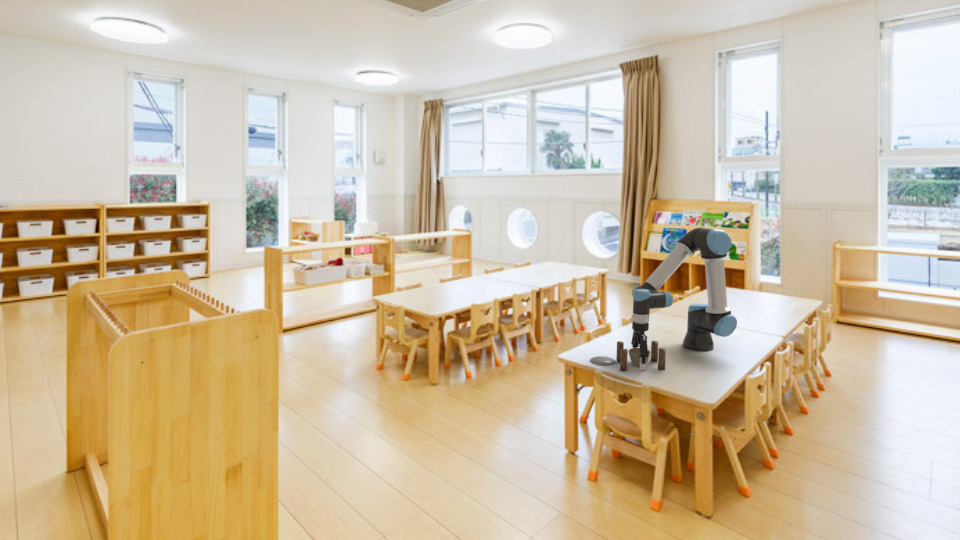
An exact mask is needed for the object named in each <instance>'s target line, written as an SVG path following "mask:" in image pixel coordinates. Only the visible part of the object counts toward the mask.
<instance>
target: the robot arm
mask: <svg viewBox="0 0 960 540" xmlns="http://www.w3.org/2000/svg"><path fill="white" fill-rule="evenodd" d="M731 248H732V238H731V236H730V235H729V233H727V231H725V230H722V229H720V228H710V227H709V228H707V227H700V226H699V227H696V228H693V229H691V230H689V231H687V232H686V233H685V234H684V235H683V236H682V237H680V239H679V240H678V241H677V242H676V243H675V247H674V248H673V250H671V252H670V253H669V254H668V255H667V256H666V257H665V258H664V260H662V262H661V263H660V264H659V265H658V267H656V268H655V270H654V271H653V272H652V273H651V274H650V275H649V277H648V278H646V279H645V280H644V282H643V283H642V284H640V285H636V286H634V287H633V289H632V292H631V294H632V295H631V296H632V314H631V317H632V323H631V328H632V330H633V332H632V338H631V341H630V344H631V347H632V348H640V353H641V355H640V356H639V357H640V367H638V368H639V369H638V370H640V371H646V370H647V369H646V367H647V363H646V357H648V350H649V349H648V336H647V335H646V333H645V332H647V331H649V330H650V329H649V328H650V326H649V325H650V323H649V322H650V312H651V311H650V310H651V309H665V308H669V307H671V306H672V305H673V303H674V297H673V295H672V293H671V292H670V291H659V290H660V288H661V287H662V286H663V285H665V283H666V282H667V281H668V279H669V278H670V277H672V275H673V274H674V273H675V272H676V271H677V269H678V268H679V267H680V266H681V265H682V264H683V263H684V262H685V261H686V259H687V258H688V257H692V256H693V255H694V253H696V252H700V258H701V259H702V260H703V261H704V267H705V268H704V269H705V280H706V293H707V295H706V296H707V303H692V304H690V305H689V306H688V309H687V324H686V325H687V326H686V328H687V329H686V333H685V336H684V338H683V341H682V346H683V347H684V348H686V349H689V350H693V351H699V352H700V351H701V352H702V351H703V352H704V351H706V352H707V351H712V350H713V349H714V348H715V343H714V340H713V336H712V334H714V335H715V336H719V337H723V338H725V337H729V336H731V335H732V334H733V333H734V331H736V328H737V325H738V320H737V318H736V316H735V315H734V314H732V308H731V307H730V306H729V305H728V300H727V286H726V285H727V283H726V271H725V270H726V269H725V259H726V258H727V256H728V253H729V252H730V250H731Z"/></svg>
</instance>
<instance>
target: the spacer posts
mask: <svg viewBox="0 0 960 540" xmlns="http://www.w3.org/2000/svg"><path fill="white" fill-rule="evenodd" d="M624 343H625V342H624V341H616V360H615V361H616V362H615V363H618V364H619V370H620V372H621V371H622V372H627V371H628V355H629V349H627V348H624V346H625V345H624ZM666 355H667V349H666V348H665V347H659V341H658V340H651V347H650V362H651V361H652V362H651V363H657V370H658V369H659V370H658V371H662V370H663V371H665V370H666V362H667V361H666V357H667V356H666ZM657 361H658V362H657Z"/></svg>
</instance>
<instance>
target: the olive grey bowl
mask: <svg viewBox="0 0 960 540" xmlns="http://www.w3.org/2000/svg"><path fill="white" fill-rule="evenodd" d="M628 355H629V359H630V361H631V363H632V365H633V366H634V367H635V368H636V367H637V368H640V357H639V356H640V355H641V353H640V347H637V348H633V347H632V348H630V349H628ZM650 358H651V350H649V349H648V357H646V364H648V362H649V360H650Z"/></svg>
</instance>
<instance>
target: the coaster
mask: <svg viewBox="0 0 960 540" xmlns="http://www.w3.org/2000/svg"><path fill="white" fill-rule="evenodd" d="M590 362H591V363H592V364H593V363H594V365H596V364H597V366H603V367H605V366H607V367H609V366H614V365H615V364H616V363H617V362H616V360H615V359H614V358H612V357H608V356H594V357H591V358H590Z"/></svg>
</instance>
